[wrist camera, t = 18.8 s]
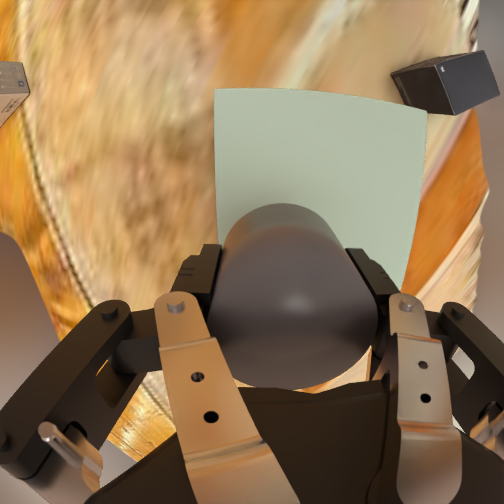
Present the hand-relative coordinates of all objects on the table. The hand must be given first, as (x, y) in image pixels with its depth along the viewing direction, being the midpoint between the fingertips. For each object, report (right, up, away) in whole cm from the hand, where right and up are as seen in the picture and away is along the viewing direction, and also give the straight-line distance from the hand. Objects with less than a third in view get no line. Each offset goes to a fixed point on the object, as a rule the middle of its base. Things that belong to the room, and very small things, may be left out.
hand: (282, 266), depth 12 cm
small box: (+23, +24, +16) cm, 37 cm away
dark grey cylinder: (0, 0, +1) cm, 1 cm away
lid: (+5, +5, +11) cm, 13 cm away
